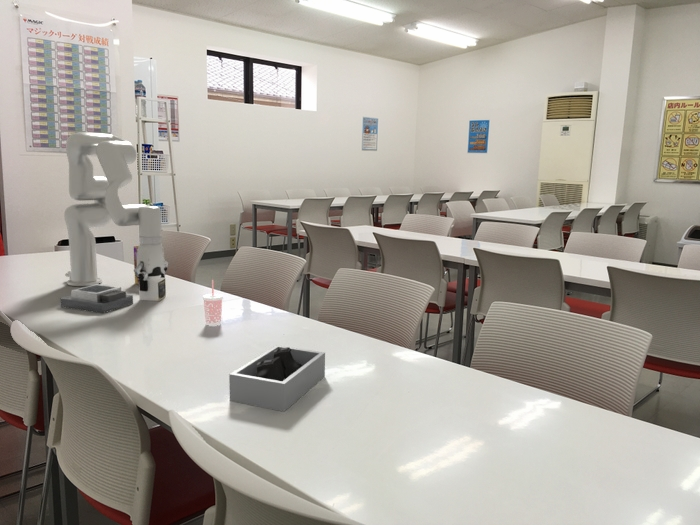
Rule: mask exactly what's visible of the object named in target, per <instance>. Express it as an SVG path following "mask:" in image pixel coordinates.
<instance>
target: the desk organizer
mask: <svg viewBox="0 0 700 525" xmlns="http://www.w3.org/2000/svg"><path fill="white" fill-rule="evenodd" d="M287 347H289V348H290V349H292V350H291V351H290V352H291V354H292V357H293V359H294V360H295V361H296V362H298V363H299V364H301V365H303V366H302V367H301V368H299V369H298V370H297V371H296V372H294V373H293V374H292V375H290V376H289V377H288V378H286V379H285V380H284V381H277V380H271V379H266V378H260V377H256V372H257V364H258V363H259V362H262V361H264V362H265V360H273V359H274V351H275V350H277V349H280V350H281V349H282V348H287ZM325 371H326V352H325V351H324V352H323V351H319V350H318V351H316V350H313V349H311V350H310V349H304V348H298V347H291V346H285V345H279V344H276V345H274V346H273V347H271V348H269V349H268V350H266V351H264V352H262V353H261V354H260V355H258V356H257V357H255V358H253V359H252V360H250V361H248V362H247V363H245V364H244V365H242V366H240V367H239V368H237V369H234V371H232V372H230V373H229V374H228V375H229V376H228V377H229V382H228V383H229V402H234V403H239V404H243V405H249V406H254V407H259V408H264V409H268V410H269V409H270V410H274V411H279V412H286V411H287V410H288V409H289V408H291V406H292V405H294V404H295V403H296V402H297V401H298V400H299V399H300V398H302V397H303V396H304V395H305V394H306V393H307V392H309V390H311V389H312V388H313V387H315V385H317V384H318V383H319V382H320V381H322V379H324V378H325V375H326V372H325Z"/></svg>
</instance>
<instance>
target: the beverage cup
mask: <svg viewBox="0 0 700 525" xmlns="http://www.w3.org/2000/svg"><path fill="white" fill-rule="evenodd" d="M223 299H224V295H223V294H220V293H215V290H214V279H212V280H211V293H207V294H203V295H202V300H203V304H204V318H205V325H206V326H207V325H209V326H208V327H217V325H218V326H221V325H222V308H223ZM220 324H221V325H220Z"/></svg>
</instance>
